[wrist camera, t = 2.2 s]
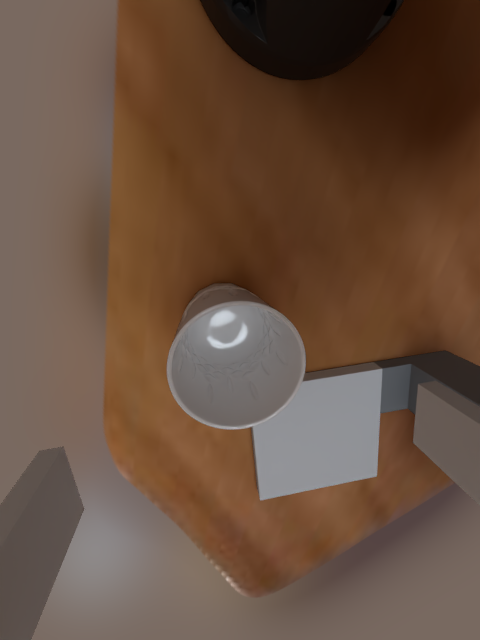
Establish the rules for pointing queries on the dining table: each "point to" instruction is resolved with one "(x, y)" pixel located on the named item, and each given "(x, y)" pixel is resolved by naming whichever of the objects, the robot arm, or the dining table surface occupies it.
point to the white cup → (234, 359)
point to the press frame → (346, 420)
